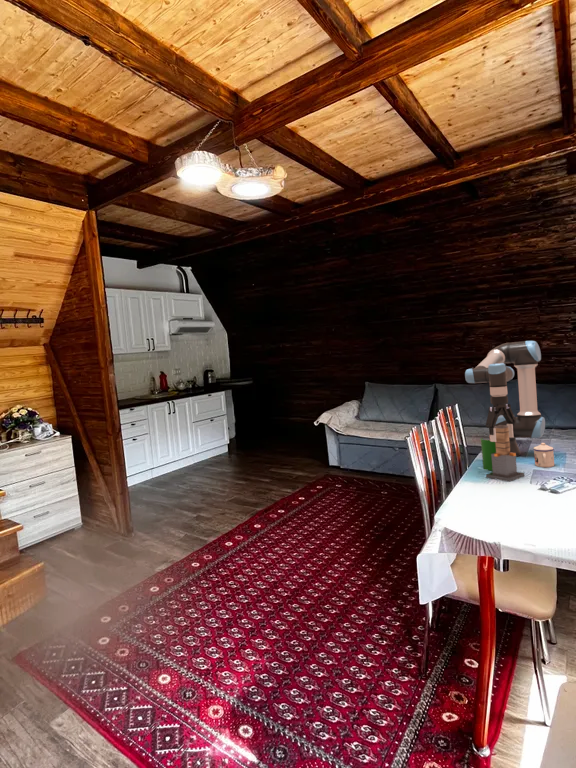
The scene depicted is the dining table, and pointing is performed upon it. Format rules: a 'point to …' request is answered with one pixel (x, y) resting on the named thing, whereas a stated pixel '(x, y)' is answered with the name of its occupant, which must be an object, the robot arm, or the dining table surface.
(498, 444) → the column
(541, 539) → the dining table surface
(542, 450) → the teacup with lid
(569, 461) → the dining table surface
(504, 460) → the stand base
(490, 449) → the motor
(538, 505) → the dining table surface
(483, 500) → the dining table surface
